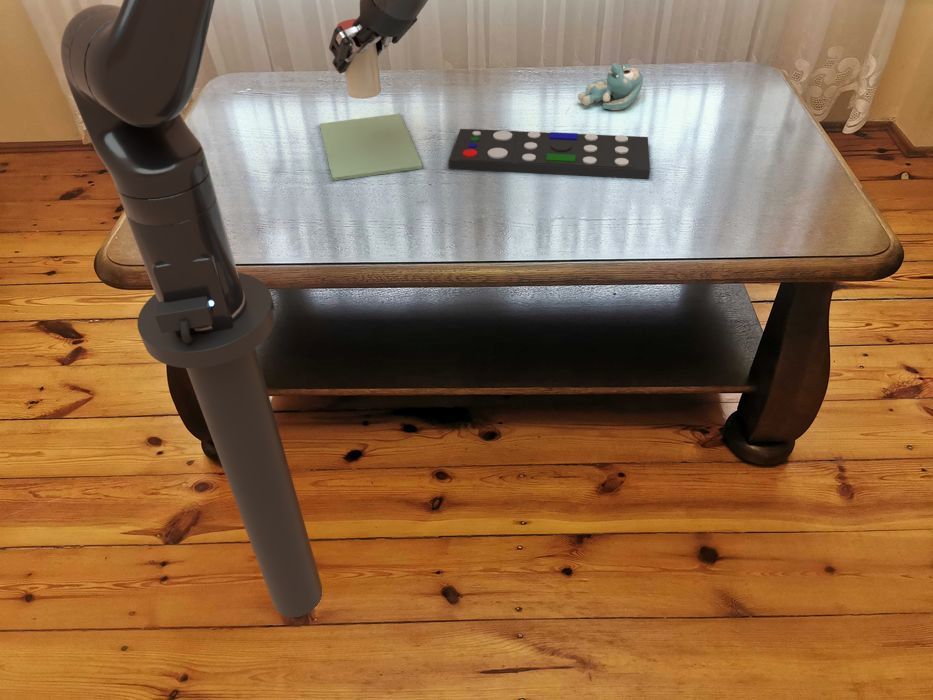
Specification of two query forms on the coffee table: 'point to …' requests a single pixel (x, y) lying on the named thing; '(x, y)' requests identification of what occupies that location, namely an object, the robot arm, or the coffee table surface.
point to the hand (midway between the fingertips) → (353, 62)
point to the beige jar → (363, 74)
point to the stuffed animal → (615, 88)
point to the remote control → (551, 153)
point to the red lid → (347, 25)
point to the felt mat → (369, 147)
